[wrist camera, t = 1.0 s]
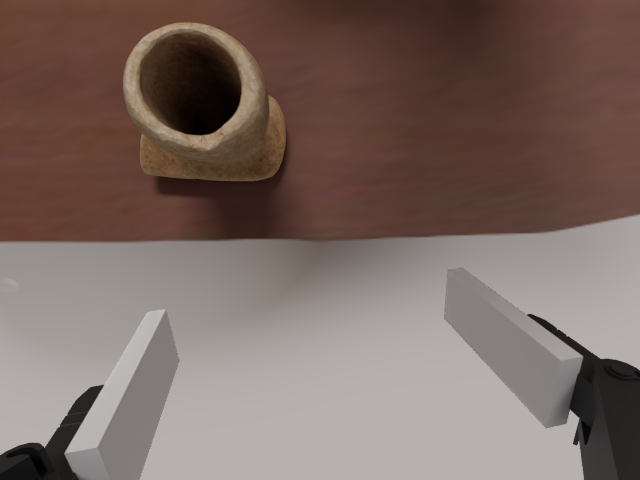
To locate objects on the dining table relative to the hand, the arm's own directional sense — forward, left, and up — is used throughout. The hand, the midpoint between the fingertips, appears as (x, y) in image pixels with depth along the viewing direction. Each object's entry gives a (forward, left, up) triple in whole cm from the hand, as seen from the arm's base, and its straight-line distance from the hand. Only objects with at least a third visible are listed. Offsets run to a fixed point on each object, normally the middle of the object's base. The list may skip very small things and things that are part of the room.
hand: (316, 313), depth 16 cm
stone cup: (-11, -10, -26) cm, 30 cm away
